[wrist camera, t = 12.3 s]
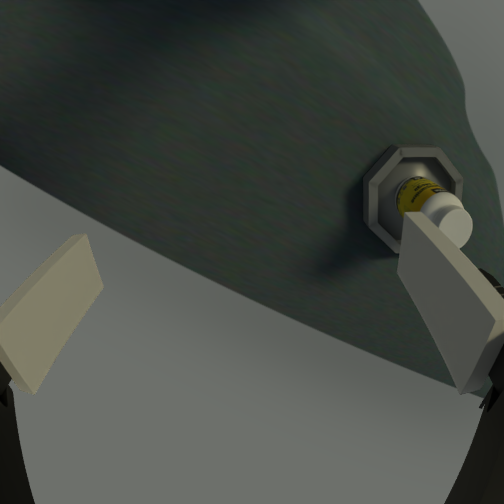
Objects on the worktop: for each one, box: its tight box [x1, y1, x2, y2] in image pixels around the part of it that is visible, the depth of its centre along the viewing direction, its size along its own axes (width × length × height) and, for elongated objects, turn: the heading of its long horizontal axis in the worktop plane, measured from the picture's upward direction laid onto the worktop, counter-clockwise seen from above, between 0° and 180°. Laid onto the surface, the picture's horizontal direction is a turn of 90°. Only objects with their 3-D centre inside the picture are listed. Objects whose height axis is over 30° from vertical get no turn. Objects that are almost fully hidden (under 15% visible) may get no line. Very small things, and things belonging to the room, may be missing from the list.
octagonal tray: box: [363, 144, 463, 253], centre depth 38 cm, size 14×14×2 cm
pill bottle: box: [395, 176, 472, 248], centre depth 33 cm, size 6×6×11 cm
